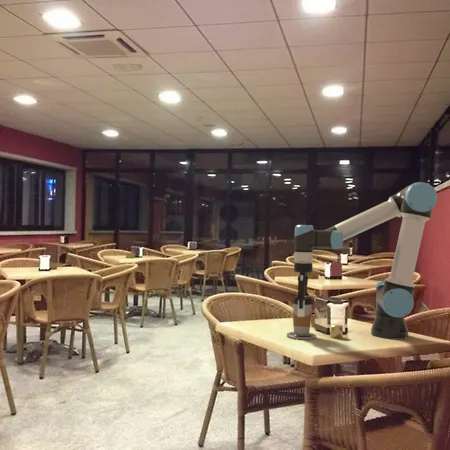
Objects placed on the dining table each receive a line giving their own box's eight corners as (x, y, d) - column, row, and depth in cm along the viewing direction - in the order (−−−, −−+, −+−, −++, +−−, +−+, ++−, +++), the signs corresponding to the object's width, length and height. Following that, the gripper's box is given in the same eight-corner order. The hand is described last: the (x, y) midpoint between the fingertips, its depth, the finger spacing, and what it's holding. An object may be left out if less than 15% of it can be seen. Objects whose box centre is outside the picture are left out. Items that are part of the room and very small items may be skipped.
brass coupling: (342, 336, 220) (342, 325, 220) (342, 339, 215) (342, 327, 215) (330, 336, 221) (330, 324, 221) (329, 338, 216) (330, 326, 216)
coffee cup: (311, 336, 213) (312, 299, 213) (290, 335, 214) (291, 298, 214) (312, 332, 221) (313, 297, 221) (292, 331, 222) (293, 296, 222)
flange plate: (316, 335, 222) (316, 332, 222) (315, 341, 210) (315, 338, 210) (288, 333, 225) (288, 330, 225) (285, 339, 213) (285, 336, 213)
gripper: (296, 260, 230) (295, 308, 231) (291, 264, 206) (290, 318, 206) (314, 260, 229) (313, 309, 229) (310, 264, 204) (309, 319, 205)
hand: (302, 314), depth 218 cm, fingers open, 13 cm apart
